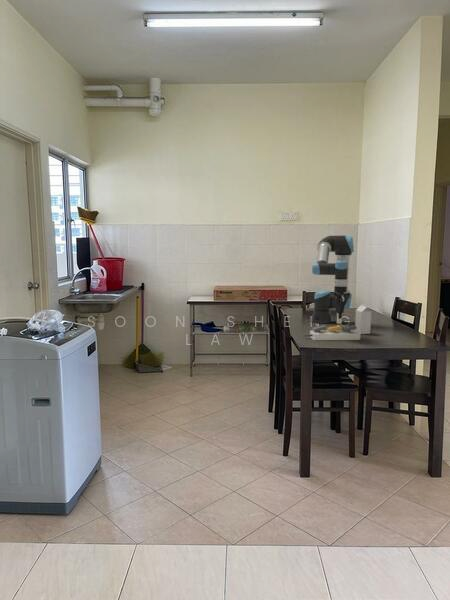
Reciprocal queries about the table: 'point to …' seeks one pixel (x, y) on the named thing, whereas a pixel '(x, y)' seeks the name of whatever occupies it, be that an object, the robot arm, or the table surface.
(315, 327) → the rocker
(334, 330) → the rocker mid
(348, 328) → the rocker
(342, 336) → the power strip
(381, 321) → the table surface
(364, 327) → the milk carton
